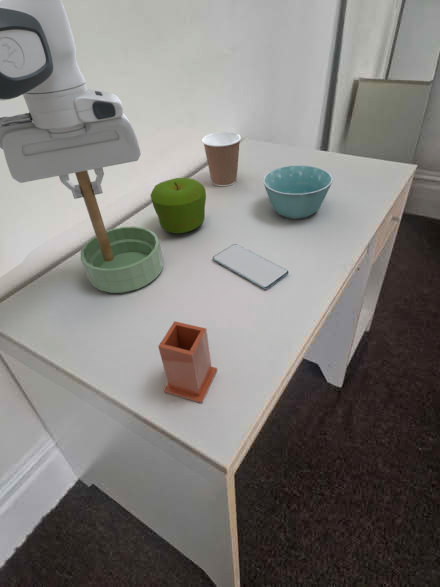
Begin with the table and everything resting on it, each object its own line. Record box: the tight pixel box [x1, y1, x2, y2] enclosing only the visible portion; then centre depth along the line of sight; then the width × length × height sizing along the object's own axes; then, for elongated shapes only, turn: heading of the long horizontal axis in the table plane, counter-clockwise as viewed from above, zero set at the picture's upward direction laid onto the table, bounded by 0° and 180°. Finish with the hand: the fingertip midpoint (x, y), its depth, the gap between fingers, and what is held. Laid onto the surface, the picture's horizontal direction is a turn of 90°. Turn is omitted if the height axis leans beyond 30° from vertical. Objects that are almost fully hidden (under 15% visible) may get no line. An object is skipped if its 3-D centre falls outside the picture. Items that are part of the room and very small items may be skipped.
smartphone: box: [212, 243, 289, 290], centre depth 74 cm, size 7×1×15 cm
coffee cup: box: [201, 131, 242, 187], centre depth 102 cm, size 10×10×12 cm
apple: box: [150, 177, 207, 234], centre depth 85 cm, size 12×12×11 cm
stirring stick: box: [74, 170, 114, 262], centre depth 67 cm, size 2×2×18 cm
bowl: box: [262, 164, 333, 220], centre depth 88 cm, size 16×16×8 cm
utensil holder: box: [157, 320, 218, 404], centre depth 52 cm, size 6×6×10 cm
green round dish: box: [79, 225, 164, 294], centre depth 75 cm, size 15×15×6 cm
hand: (88, 194), depth 64 cm, fingers closed on stirring stick, 2 cm apart
